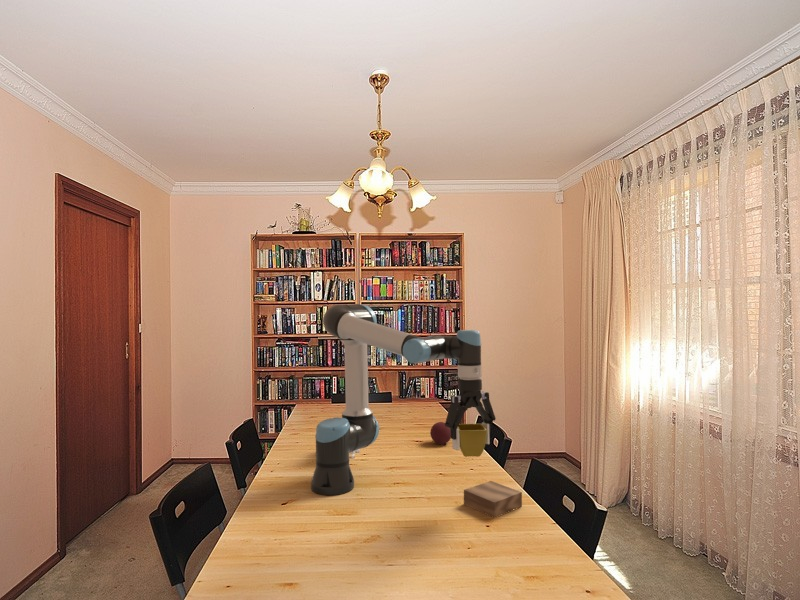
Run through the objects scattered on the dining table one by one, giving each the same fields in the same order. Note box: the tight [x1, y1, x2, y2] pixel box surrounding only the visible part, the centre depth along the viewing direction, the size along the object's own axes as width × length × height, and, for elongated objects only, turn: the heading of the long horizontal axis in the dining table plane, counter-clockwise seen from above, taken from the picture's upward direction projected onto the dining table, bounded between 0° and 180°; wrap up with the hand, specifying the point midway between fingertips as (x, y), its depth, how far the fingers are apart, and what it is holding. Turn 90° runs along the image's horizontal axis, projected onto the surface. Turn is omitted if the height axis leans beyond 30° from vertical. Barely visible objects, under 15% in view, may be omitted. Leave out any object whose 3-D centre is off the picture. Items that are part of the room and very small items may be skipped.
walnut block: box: [463, 480, 523, 518], centre depth 160 cm, size 13×13×5 cm
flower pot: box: [457, 423, 487, 458], centre depth 159 cm, size 9×9×9 cm
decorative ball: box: [429, 421, 452, 445], centre depth 230 cm, size 10×10×10 cm
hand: (471, 446), depth 159 cm, fingers closed on flower pot, 11 cm apart
